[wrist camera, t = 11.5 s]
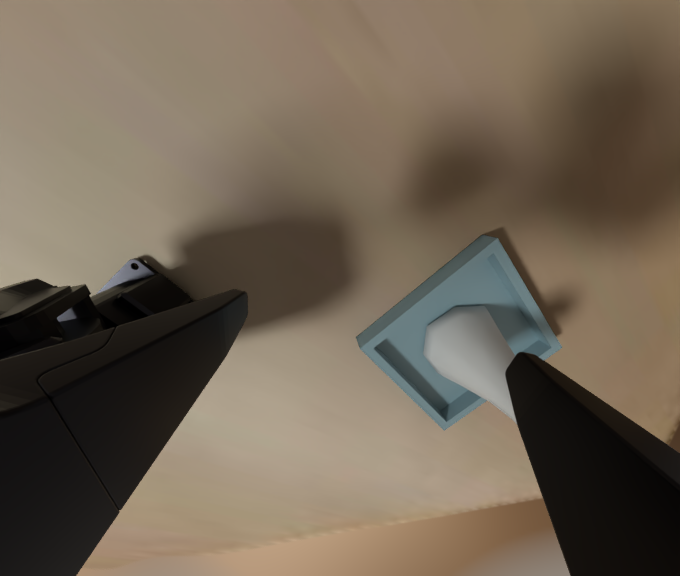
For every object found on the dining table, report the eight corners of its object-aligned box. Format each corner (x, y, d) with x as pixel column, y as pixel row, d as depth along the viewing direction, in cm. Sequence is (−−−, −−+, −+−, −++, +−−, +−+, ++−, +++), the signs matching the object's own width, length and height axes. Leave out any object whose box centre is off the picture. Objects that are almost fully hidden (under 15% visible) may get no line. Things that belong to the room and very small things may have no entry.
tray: (435, 416, 27) (444, 430, 26) (356, 337, 23) (359, 348, 21) (545, 337, 25) (562, 347, 24) (482, 234, 21) (497, 238, 19)
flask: (498, 356, 25) (612, 452, 16) (429, 381, 25) (501, 492, 16) (491, 292, 22) (622, 361, 13) (413, 319, 22) (489, 408, 13)
